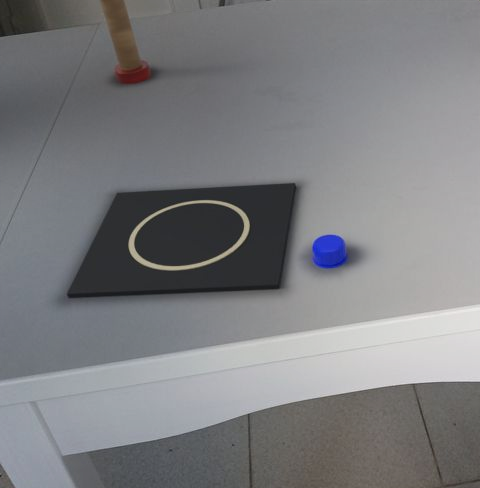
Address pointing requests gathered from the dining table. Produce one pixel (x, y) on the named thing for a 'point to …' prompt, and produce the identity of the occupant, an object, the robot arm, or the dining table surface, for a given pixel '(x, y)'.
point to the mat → (189, 242)
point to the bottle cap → (329, 251)
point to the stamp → (124, 43)
